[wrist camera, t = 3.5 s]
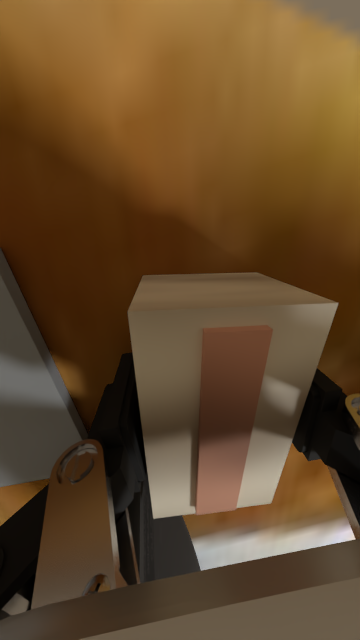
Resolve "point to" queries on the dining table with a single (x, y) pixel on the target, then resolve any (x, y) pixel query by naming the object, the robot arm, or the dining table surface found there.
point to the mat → (30, 394)
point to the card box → (221, 384)
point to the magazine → (159, 541)
